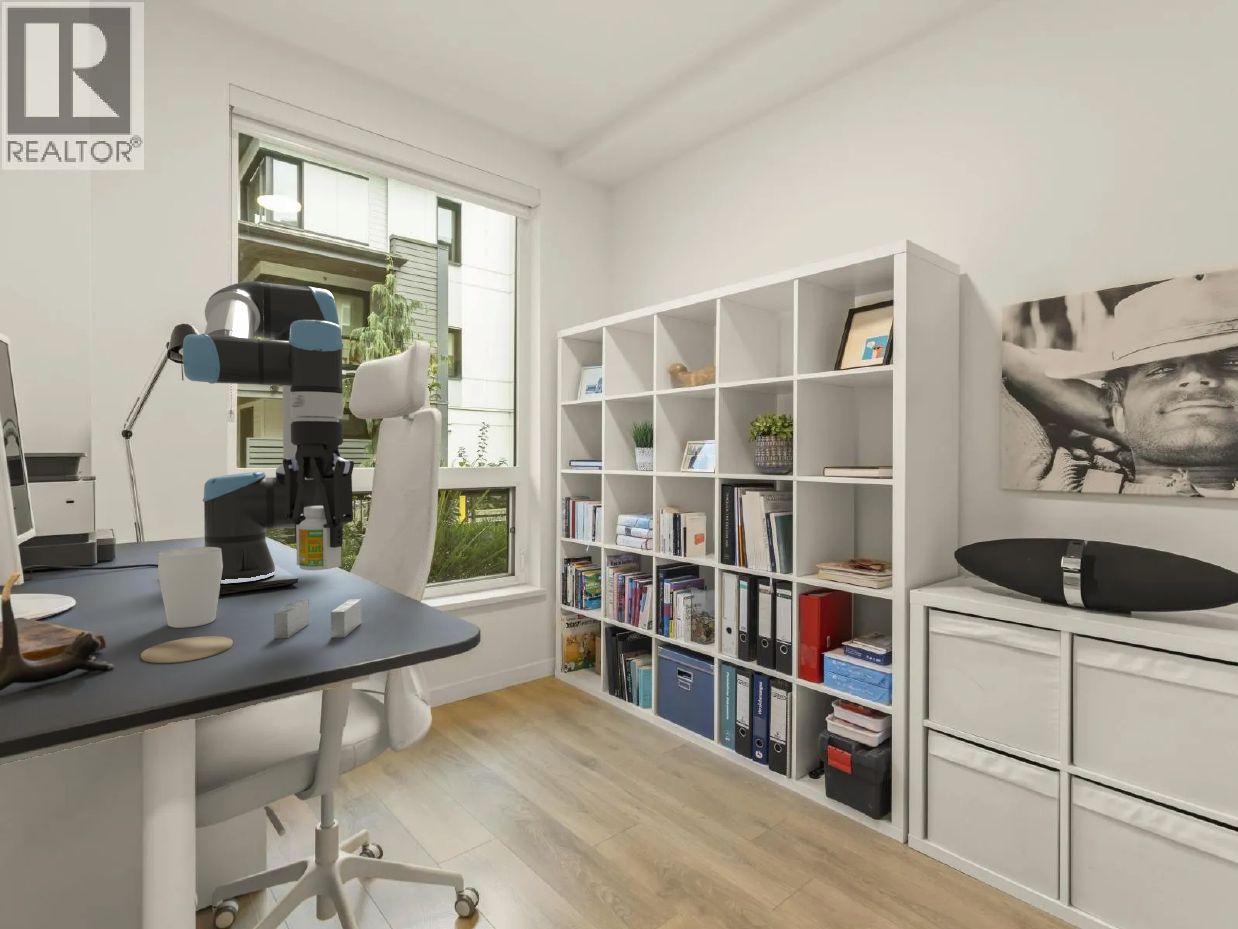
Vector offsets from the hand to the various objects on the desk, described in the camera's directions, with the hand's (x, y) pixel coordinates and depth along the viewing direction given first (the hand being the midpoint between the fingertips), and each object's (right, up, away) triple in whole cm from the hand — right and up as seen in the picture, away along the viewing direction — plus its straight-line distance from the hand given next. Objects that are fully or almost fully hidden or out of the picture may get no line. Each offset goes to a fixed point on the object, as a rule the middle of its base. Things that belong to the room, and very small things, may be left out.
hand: (318, 565), depth 103 cm
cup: (-23, -10, +4) cm, 26 cm away
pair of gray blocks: (0, -10, 0) cm, 10 cm away
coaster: (-14, -11, -10) cm, 20 cm away
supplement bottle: (0, -1, 0) cm, 1 cm away
